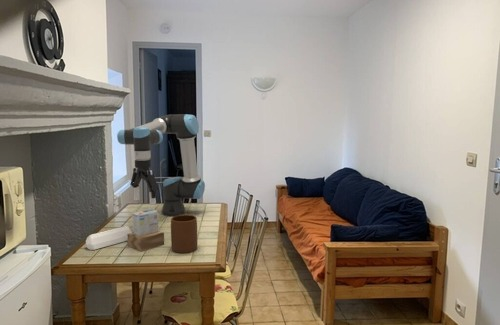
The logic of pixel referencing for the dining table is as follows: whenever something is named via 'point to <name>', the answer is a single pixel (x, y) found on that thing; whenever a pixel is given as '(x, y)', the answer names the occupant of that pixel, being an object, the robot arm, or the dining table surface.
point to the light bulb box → (145, 222)
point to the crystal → (107, 238)
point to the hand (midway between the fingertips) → (144, 202)
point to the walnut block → (145, 241)
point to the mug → (184, 233)
